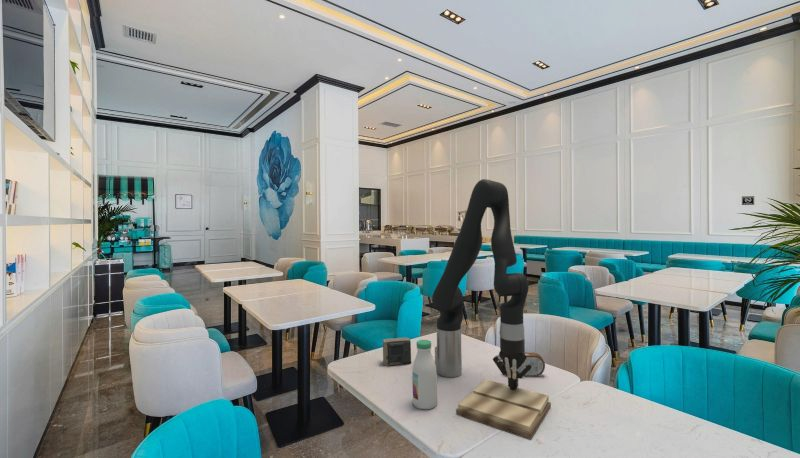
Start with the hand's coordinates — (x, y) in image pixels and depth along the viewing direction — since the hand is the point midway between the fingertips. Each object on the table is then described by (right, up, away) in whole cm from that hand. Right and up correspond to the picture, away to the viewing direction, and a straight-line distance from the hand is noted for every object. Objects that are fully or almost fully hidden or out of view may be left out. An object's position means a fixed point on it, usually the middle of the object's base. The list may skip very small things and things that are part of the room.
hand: (513, 388), depth 117 cm
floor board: (-5, -4, -6) cm, 9 cm away
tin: (+10, -3, +18) cm, 20 cm away
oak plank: (-2, -2, -2) cm, 3 cm away
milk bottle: (-28, -5, -1) cm, 29 cm away
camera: (-37, -4, +32) cm, 49 cm away
